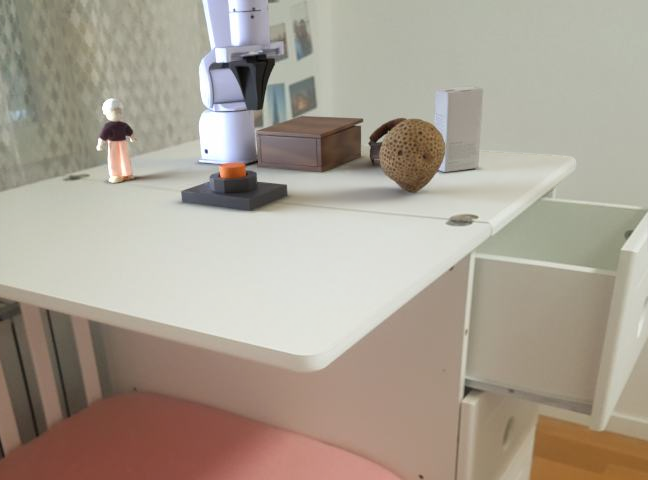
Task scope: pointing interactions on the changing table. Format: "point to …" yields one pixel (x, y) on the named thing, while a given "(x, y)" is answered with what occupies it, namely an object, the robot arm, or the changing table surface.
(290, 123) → the lid
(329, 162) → the chest
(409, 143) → the natural sponge
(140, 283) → the changing table surface
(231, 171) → the button
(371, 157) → the pottery mug
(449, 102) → the cosmetic box
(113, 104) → the grandmother figurine
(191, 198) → the switch block
